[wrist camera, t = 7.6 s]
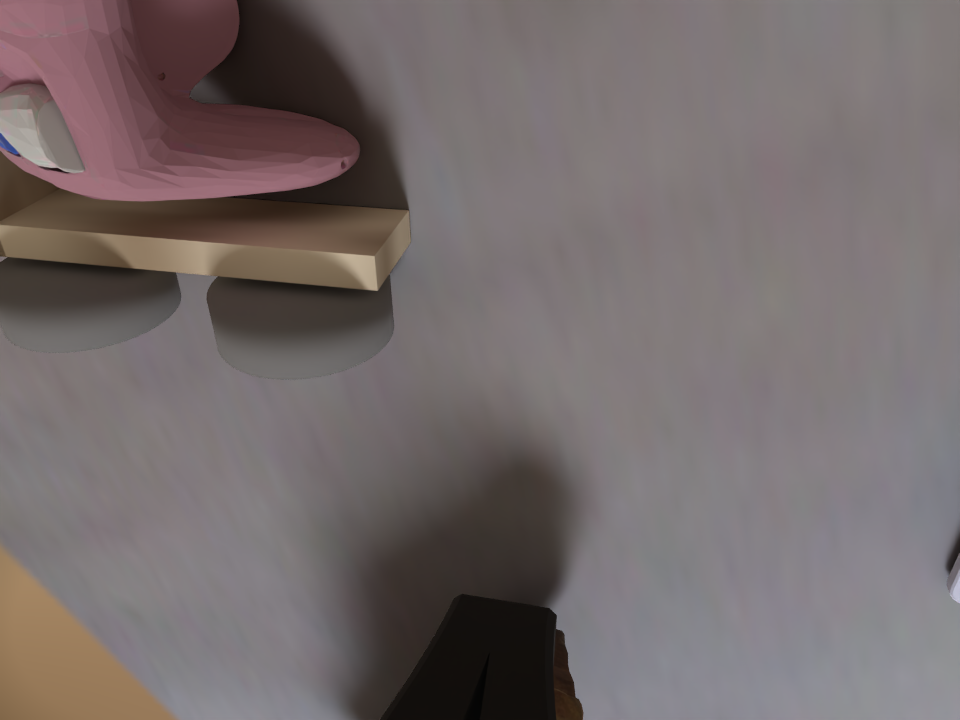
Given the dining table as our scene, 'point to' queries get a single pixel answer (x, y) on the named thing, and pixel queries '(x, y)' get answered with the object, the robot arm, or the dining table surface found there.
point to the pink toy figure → (146, 105)
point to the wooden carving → (564, 684)
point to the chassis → (199, 250)
